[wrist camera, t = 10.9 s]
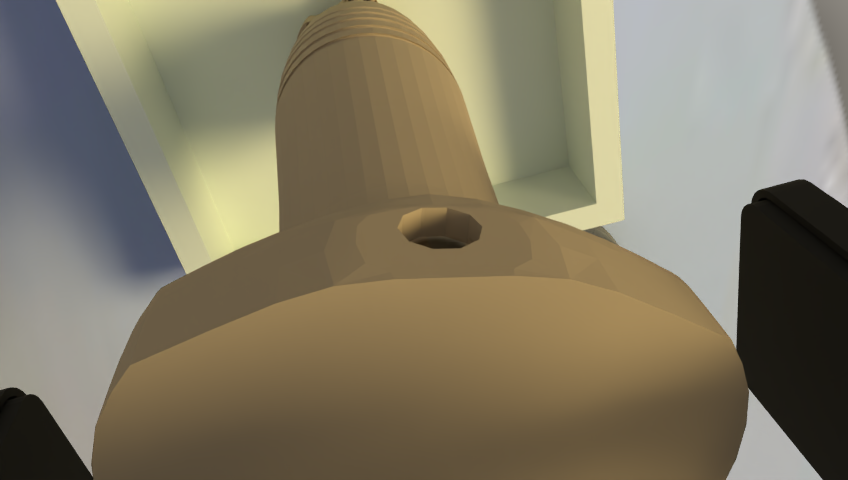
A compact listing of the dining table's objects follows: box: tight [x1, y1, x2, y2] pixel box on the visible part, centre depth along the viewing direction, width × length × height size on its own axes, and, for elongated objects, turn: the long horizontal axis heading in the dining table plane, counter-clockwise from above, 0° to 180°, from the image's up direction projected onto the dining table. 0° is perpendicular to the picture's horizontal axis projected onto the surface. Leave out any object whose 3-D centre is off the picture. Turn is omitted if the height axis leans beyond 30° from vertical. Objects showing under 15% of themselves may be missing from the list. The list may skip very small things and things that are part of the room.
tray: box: [56, 0, 624, 274], centre depth 19 cm, size 13×13×4 cm
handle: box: [91, 0, 749, 480], centre depth 13 cm, size 5×6×15 cm
